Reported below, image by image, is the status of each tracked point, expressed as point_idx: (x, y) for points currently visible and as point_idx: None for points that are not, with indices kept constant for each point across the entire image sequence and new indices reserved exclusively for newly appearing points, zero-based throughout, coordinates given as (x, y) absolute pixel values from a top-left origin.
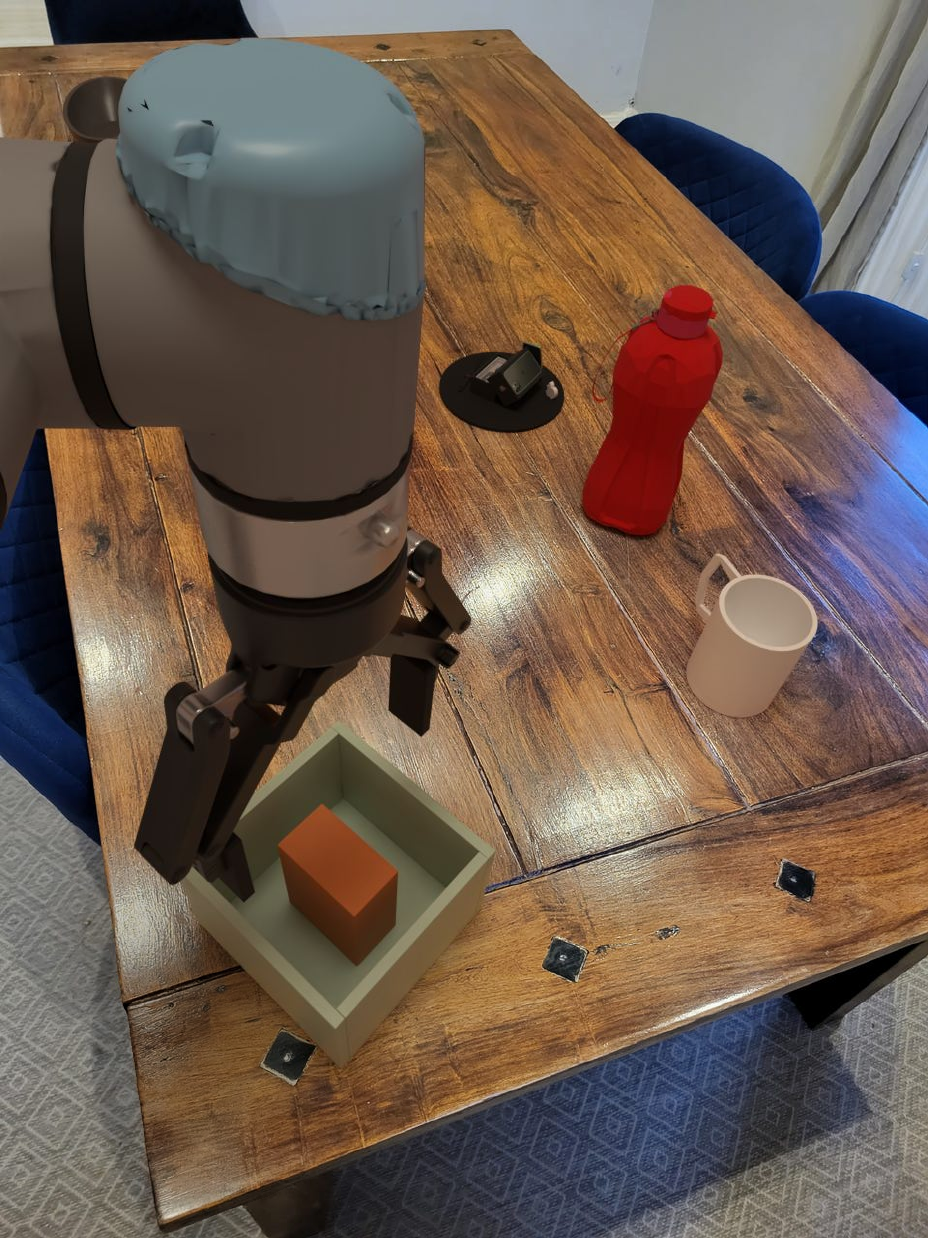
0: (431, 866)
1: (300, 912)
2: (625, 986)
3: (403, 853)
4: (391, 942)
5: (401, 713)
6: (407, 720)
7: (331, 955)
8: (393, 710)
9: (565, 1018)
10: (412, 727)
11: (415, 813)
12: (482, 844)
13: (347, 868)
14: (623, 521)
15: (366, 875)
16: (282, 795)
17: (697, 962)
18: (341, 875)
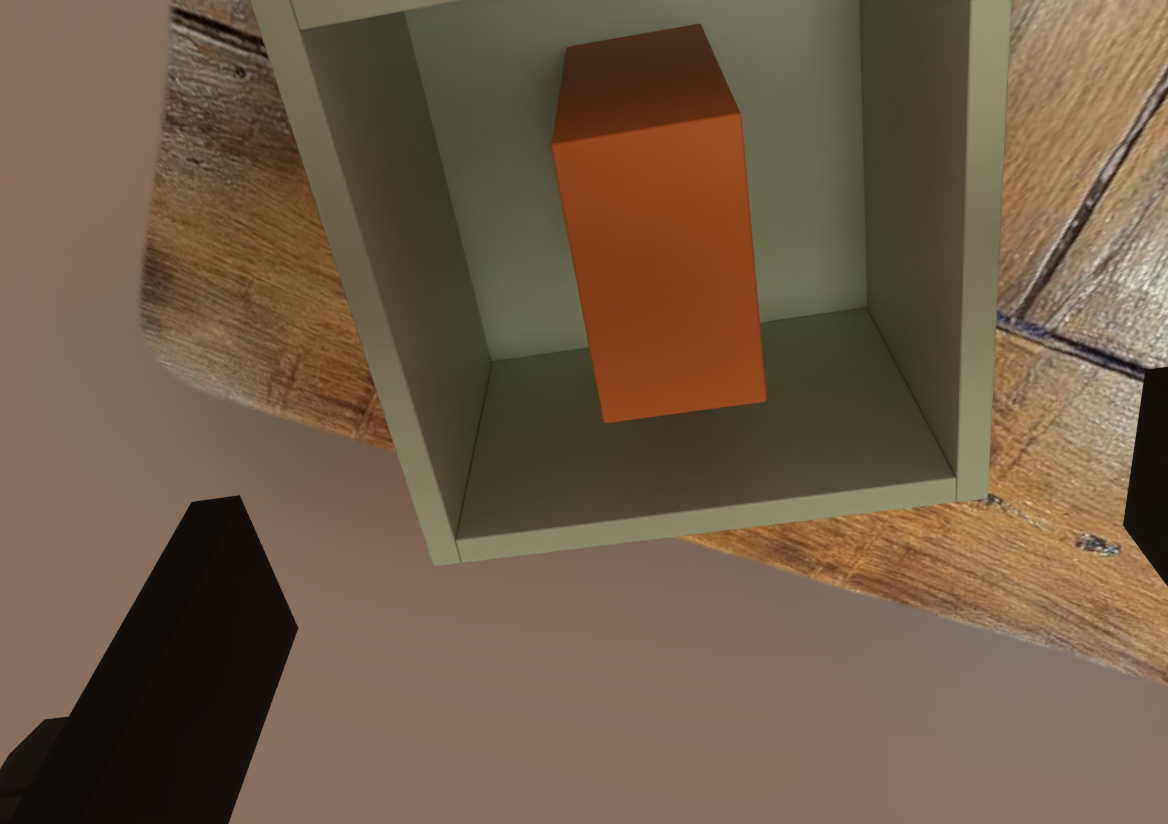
0: (875, 221)
1: None
2: (958, 558)
3: (857, 122)
4: None
5: (1165, 469)
6: (1152, 489)
7: None
8: (1157, 415)
9: (839, 533)
10: (1137, 499)
11: (933, 239)
12: (977, 470)
13: (668, 321)
14: None
15: (695, 364)
16: None
17: (1081, 600)
18: (644, 326)
